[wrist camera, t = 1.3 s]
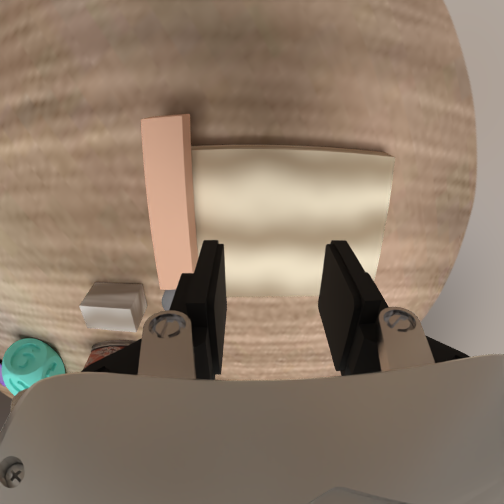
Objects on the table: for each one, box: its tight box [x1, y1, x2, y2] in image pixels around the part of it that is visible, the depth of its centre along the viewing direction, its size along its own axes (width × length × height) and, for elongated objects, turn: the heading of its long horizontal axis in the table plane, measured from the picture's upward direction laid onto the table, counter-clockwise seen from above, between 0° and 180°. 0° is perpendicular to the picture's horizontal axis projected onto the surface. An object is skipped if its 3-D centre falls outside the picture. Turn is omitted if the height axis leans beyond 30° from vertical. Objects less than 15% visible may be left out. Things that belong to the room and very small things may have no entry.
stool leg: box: [141, 114, 198, 311], centre depth 25 cm, size 17×3×3 cm, turn 0°
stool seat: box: [79, 145, 395, 332], centre depth 28 cm, size 17×30×4 cm, turn 90°
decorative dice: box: [2, 338, 65, 396], centre depth 36 cm, size 8×8×8 cm
